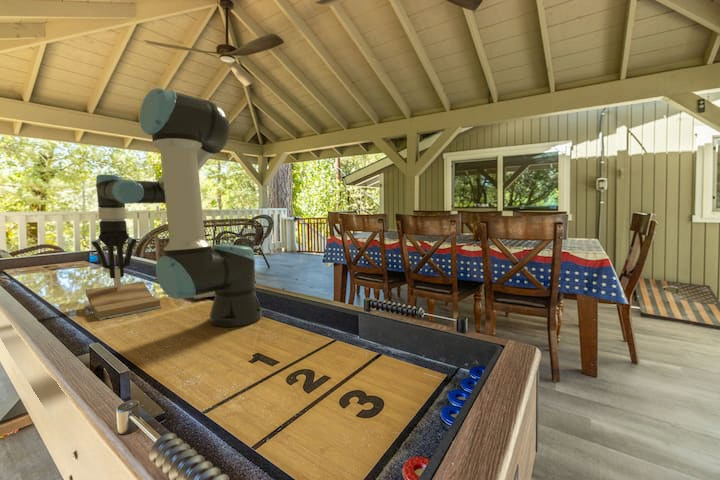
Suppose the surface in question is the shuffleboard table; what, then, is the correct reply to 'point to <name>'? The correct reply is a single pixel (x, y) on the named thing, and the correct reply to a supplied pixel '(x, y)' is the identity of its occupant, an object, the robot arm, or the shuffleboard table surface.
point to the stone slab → (203, 296)
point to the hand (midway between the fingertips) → (117, 286)
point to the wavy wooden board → (117, 294)
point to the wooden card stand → (125, 307)
